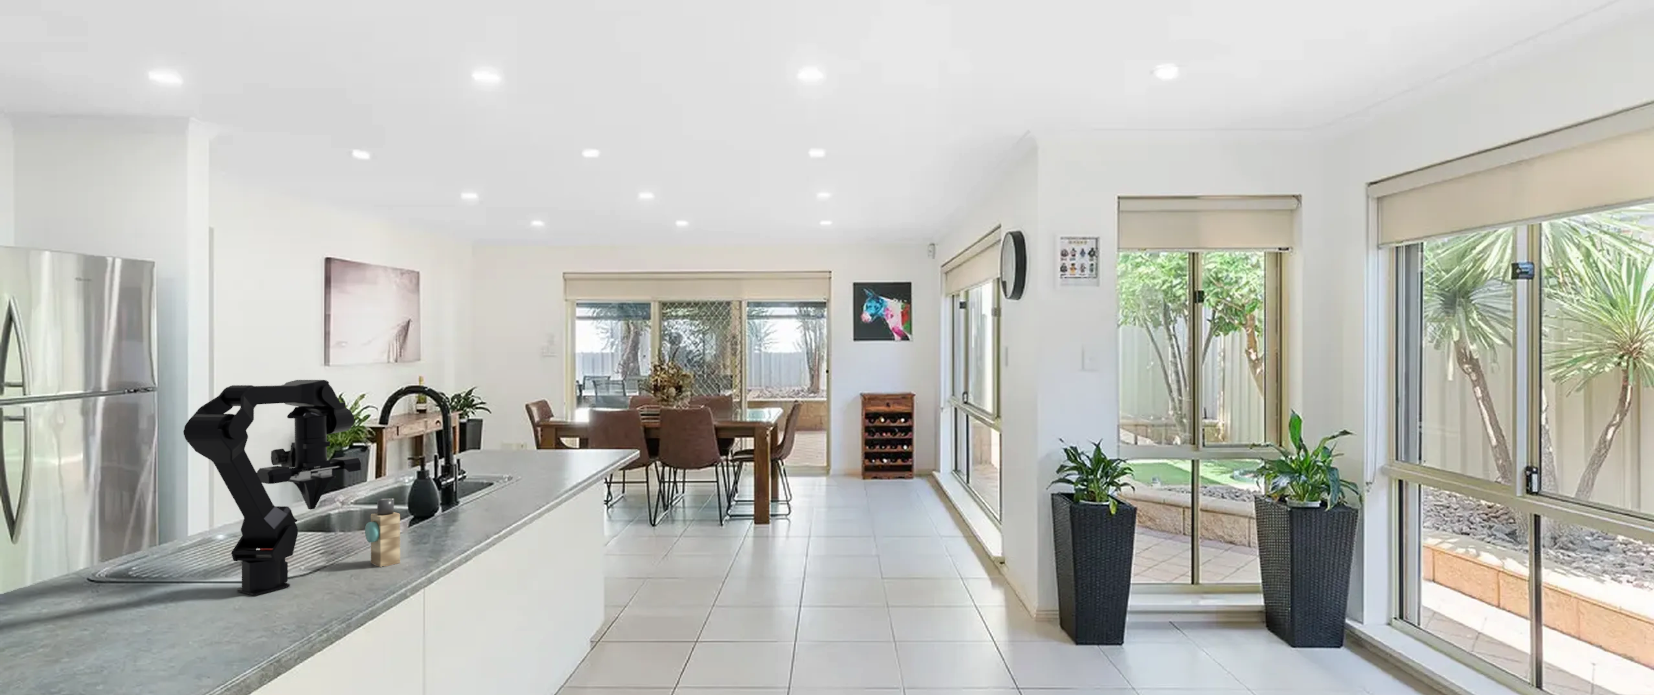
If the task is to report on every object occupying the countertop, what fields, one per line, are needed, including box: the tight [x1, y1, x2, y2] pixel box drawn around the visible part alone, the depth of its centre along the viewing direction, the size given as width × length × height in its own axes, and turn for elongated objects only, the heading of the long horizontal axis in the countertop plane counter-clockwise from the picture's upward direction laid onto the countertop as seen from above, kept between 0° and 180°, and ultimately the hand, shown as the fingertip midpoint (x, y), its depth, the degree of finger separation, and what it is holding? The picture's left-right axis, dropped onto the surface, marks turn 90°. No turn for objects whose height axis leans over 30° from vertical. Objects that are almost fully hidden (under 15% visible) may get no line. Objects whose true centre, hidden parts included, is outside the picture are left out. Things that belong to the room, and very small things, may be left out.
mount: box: [370, 511, 401, 568], centre depth 166 cm, size 4×5×11 cm
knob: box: [364, 521, 379, 544], centre depth 166 cm, size 6×4×4 cm
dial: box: [376, 498, 395, 514], centre depth 166 cm, size 3×3×3 cm
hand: (311, 509), depth 161 cm, fingers closed
